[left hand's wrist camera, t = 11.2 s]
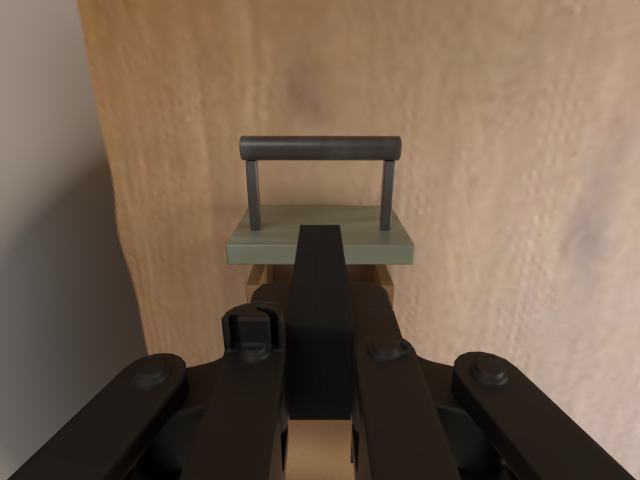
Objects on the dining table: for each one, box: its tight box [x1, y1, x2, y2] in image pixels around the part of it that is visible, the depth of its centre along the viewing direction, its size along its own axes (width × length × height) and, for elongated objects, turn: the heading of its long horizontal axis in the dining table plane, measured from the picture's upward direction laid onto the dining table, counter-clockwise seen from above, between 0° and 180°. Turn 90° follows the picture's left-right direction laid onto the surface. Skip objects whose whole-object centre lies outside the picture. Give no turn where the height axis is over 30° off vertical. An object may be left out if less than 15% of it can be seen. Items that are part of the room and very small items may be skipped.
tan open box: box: [285, 416, 355, 480], centre depth 31 cm, size 19×12×10 cm, turn 0°
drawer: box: [226, 136, 415, 308], centre depth 27 cm, size 23×10×8 cm, turn 0°
